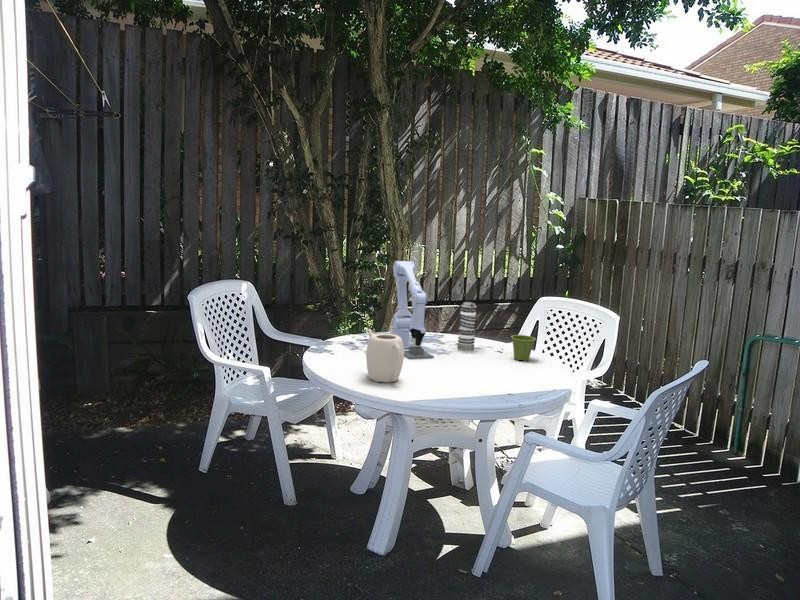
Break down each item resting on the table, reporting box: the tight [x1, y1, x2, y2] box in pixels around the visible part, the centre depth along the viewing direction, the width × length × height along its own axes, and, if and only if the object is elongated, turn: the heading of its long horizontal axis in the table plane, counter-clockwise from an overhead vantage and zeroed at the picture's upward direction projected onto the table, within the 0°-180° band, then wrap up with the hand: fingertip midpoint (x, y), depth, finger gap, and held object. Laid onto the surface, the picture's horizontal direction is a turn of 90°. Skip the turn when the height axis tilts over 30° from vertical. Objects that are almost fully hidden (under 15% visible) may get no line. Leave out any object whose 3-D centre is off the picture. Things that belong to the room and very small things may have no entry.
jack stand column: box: [412, 338, 422, 349], centre depth 342 cm, size 3×3×7 cm
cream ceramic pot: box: [365, 329, 405, 384], centre depth 296 cm, size 16×27×19 cm, turn 33°
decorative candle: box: [456, 301, 478, 354], centre depth 357 cm, size 9×9×25 cm
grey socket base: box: [404, 345, 435, 360], centre depth 343 cm, size 13×13×5 cm
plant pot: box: [511, 334, 536, 362], centre depth 346 cm, size 12×12×11 cm
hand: (416, 344), depth 342 cm, fingers closed on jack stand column, 3 cm apart
